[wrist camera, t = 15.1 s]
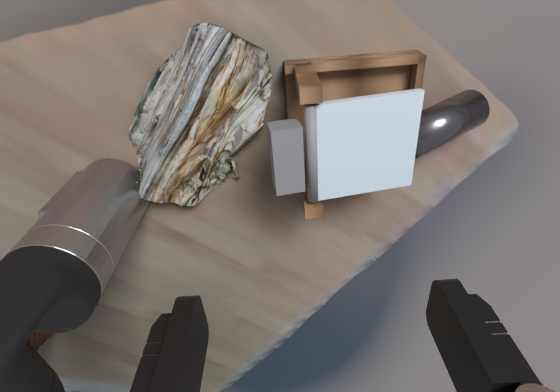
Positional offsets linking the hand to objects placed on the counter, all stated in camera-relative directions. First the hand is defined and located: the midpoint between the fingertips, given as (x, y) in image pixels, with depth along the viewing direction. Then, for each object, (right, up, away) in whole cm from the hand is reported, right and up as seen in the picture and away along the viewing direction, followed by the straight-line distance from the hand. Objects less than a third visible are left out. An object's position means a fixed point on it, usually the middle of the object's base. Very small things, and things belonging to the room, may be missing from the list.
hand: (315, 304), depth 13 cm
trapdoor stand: (+7, +14, +32) cm, 35 cm away
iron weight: (+13, +10, +27) cm, 31 cm away
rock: (-11, +13, +32) cm, 37 cm away
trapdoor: (+5, +9, +25) cm, 27 cm away
